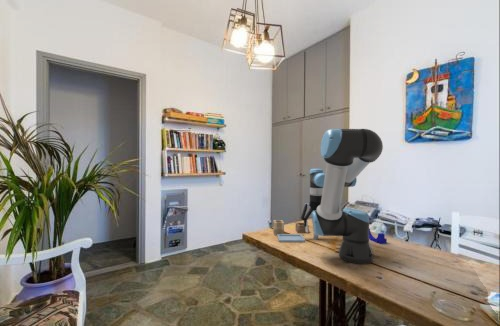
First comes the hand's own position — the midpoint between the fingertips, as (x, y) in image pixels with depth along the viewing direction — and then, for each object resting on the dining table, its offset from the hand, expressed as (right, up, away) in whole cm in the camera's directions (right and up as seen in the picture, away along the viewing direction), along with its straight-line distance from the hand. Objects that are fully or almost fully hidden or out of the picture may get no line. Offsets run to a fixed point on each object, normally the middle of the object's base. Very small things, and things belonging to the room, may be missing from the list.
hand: (315, 231), depth 142 cm
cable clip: (+34, -5, -2) cm, 34 cm away
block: (-21, -4, +10) cm, 24 cm away
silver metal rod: (0, -4, 0) cm, 4 cm away
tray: (-15, -4, 0) cm, 16 cm away
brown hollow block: (-5, -4, +15) cm, 16 cm away
